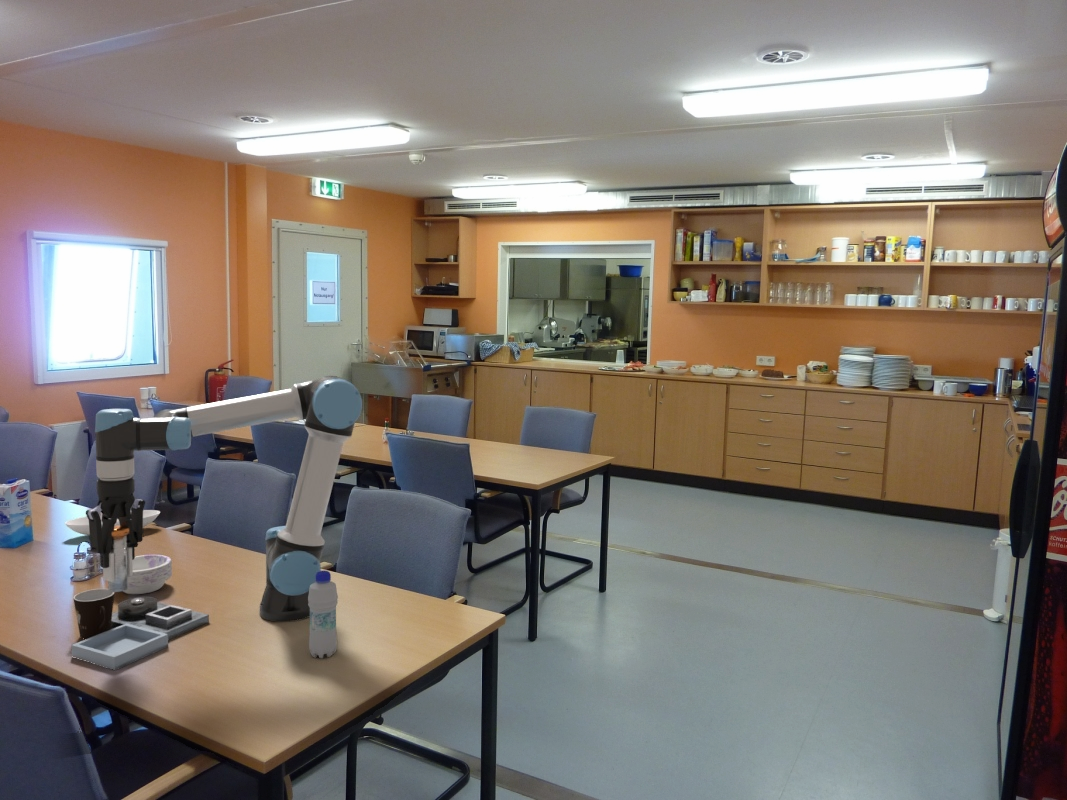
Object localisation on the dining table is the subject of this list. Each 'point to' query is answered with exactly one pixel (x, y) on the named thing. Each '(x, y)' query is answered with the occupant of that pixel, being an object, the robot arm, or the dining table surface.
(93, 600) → the coffee mug
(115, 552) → the pin
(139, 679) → the dining table surface
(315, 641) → the bottle
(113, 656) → the tray
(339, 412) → the robot arm
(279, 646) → the dining table surface
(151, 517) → the bowl
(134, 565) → the paper bowls
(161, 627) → the plate
